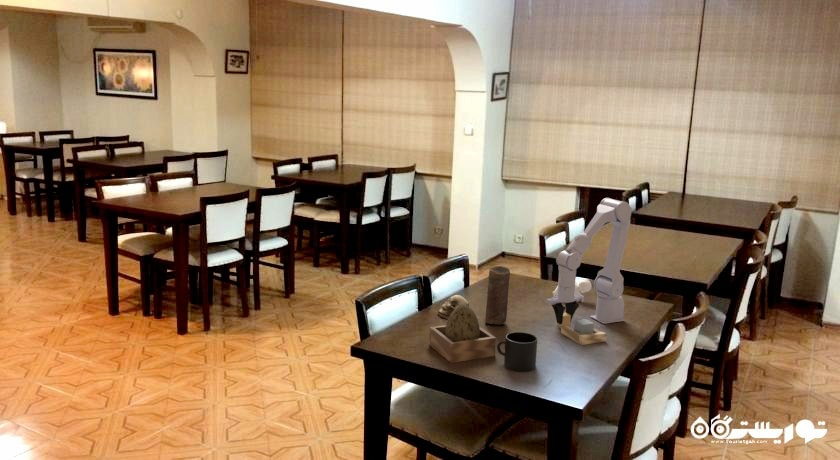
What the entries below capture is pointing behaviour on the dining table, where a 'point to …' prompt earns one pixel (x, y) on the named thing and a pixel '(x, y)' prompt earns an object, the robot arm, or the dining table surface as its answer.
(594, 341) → the lane
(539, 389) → the dining table surface
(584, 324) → the tethered block
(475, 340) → the square wooden tray
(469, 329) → the decorative egg
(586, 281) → the white animal figurine
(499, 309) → the candle
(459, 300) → the skull
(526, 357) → the mug
